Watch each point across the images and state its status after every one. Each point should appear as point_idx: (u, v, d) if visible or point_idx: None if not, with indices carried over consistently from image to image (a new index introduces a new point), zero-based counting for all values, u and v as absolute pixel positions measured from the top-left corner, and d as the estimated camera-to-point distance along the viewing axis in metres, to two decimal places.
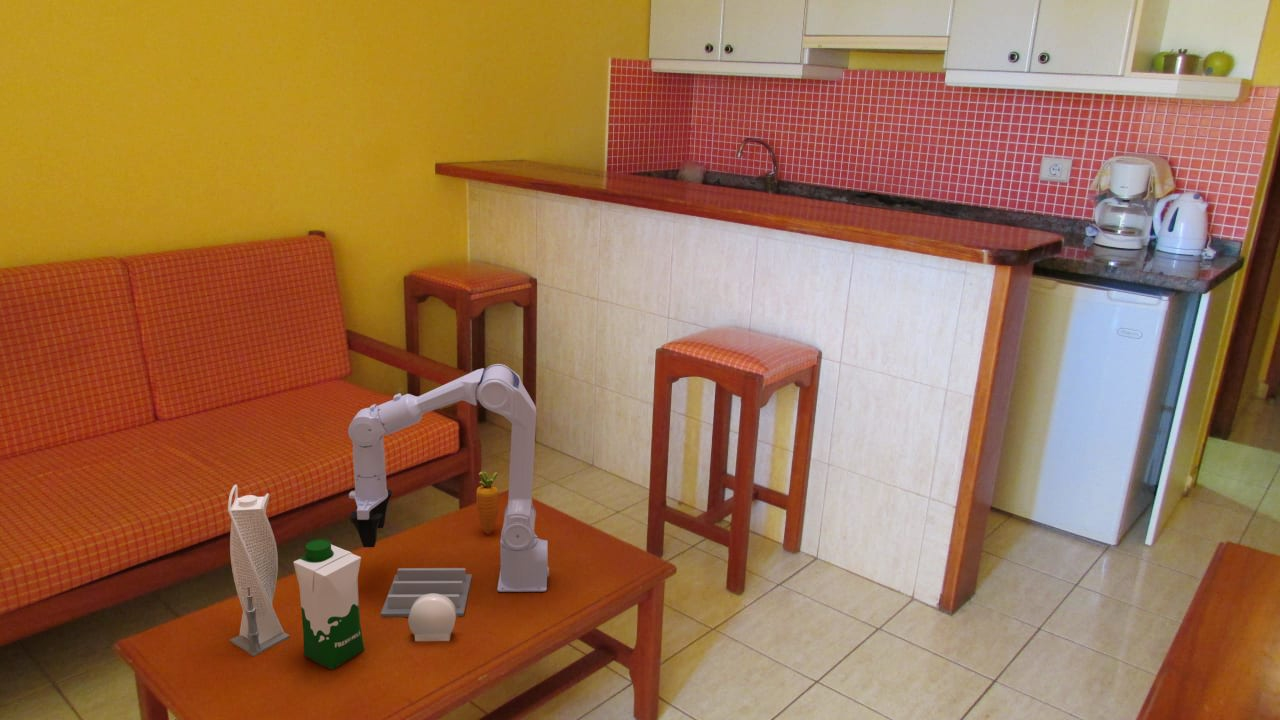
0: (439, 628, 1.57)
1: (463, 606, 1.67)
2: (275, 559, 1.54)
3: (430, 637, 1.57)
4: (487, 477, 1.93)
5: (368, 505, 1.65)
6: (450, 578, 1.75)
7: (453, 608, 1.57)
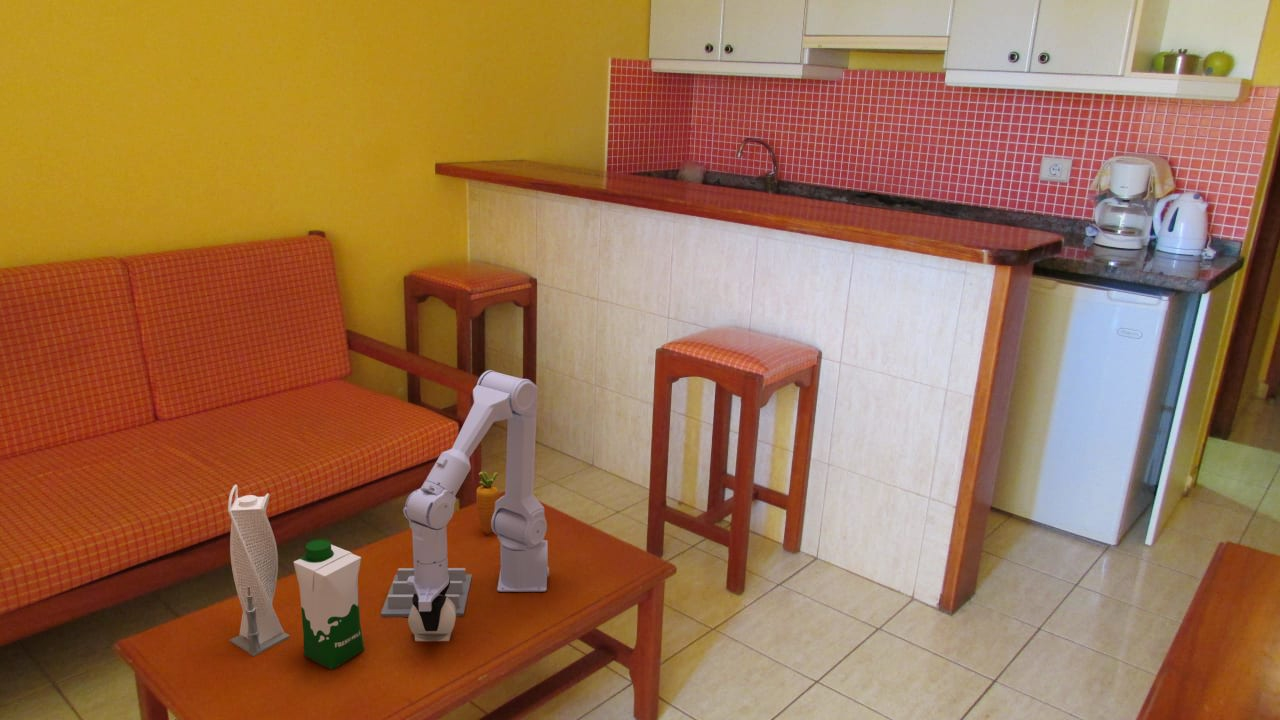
0: (439, 628, 1.57)
1: (463, 606, 1.67)
2: (275, 559, 1.54)
3: (430, 637, 1.57)
4: (487, 477, 1.93)
5: (430, 594, 1.51)
6: (450, 578, 1.75)
7: (453, 608, 1.57)
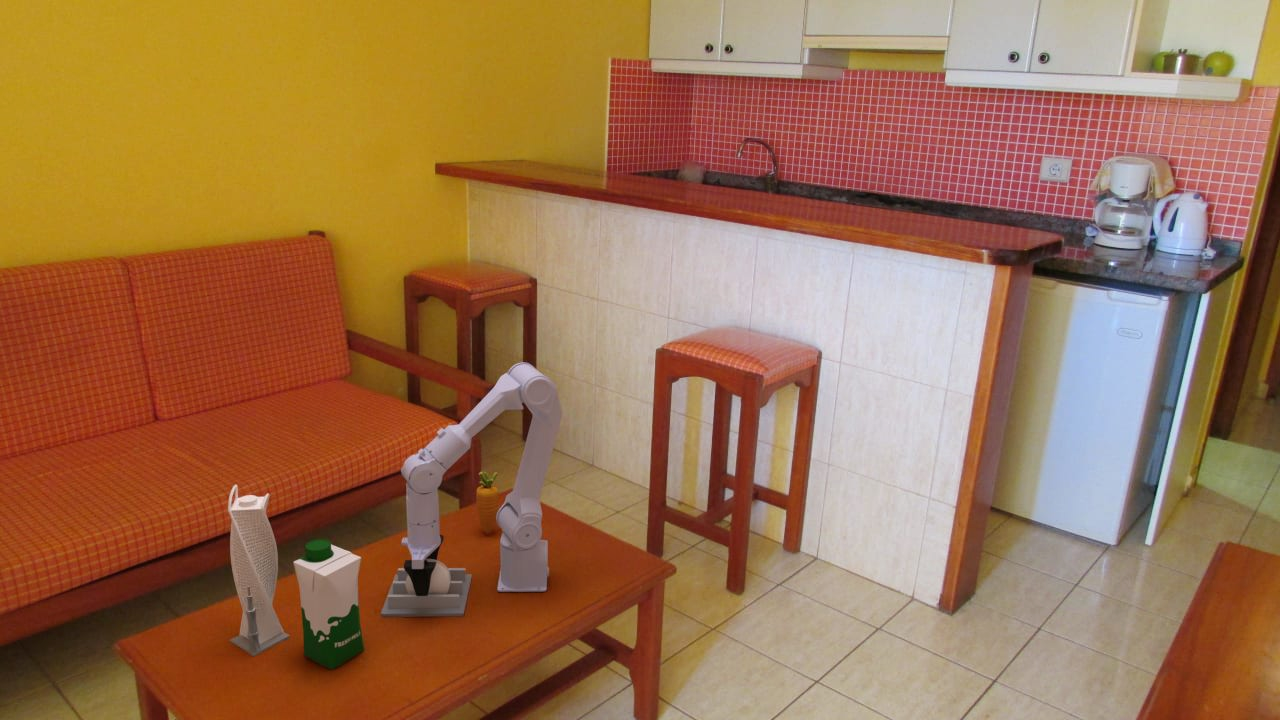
0: (434, 591, 1.67)
1: (463, 606, 1.67)
2: (275, 559, 1.54)
3: None
4: (487, 477, 1.93)
5: (422, 553, 1.61)
6: None
7: (448, 573, 1.68)
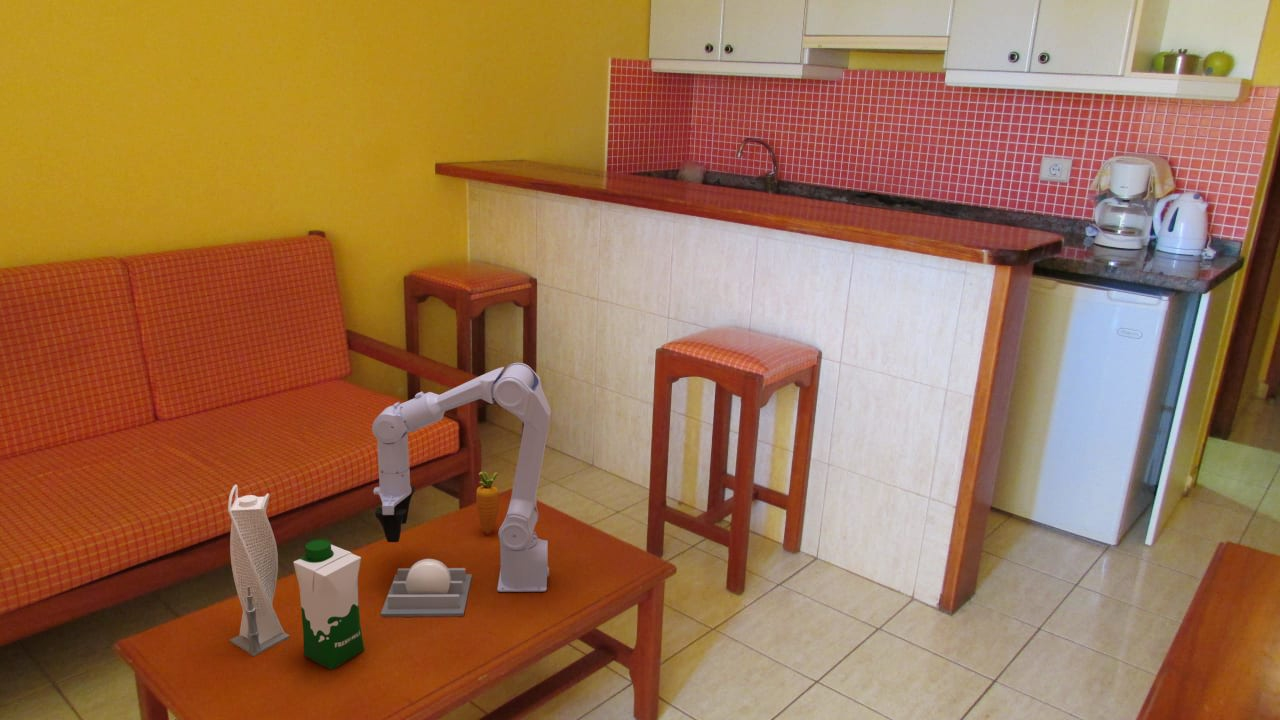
0: (434, 591, 1.67)
1: (463, 606, 1.67)
2: (275, 559, 1.54)
3: None
4: (487, 477, 1.93)
5: (393, 501, 1.69)
6: None
7: (448, 573, 1.68)
